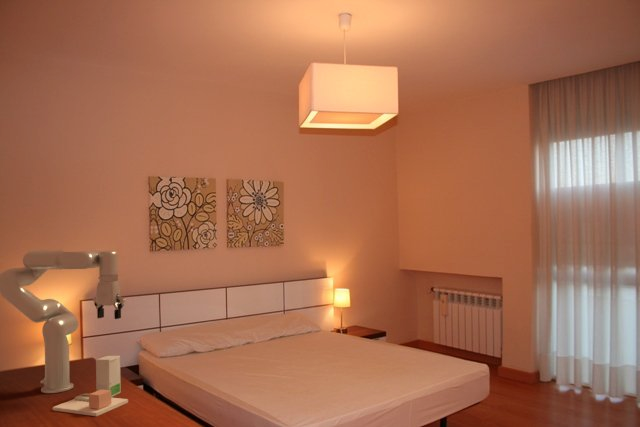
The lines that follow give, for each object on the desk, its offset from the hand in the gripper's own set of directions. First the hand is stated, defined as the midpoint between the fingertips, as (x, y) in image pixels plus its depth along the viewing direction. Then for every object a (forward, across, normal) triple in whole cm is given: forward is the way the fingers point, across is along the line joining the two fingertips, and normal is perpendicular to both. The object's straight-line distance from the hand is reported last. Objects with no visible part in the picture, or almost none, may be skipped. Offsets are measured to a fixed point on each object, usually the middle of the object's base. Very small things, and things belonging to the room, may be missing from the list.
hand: (109, 318), depth 222 cm
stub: (+29, +18, -23) cm, 41 cm away
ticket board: (+30, +11, -21) cm, 38 cm away
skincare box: (+31, +7, -8) cm, 32 cm away
